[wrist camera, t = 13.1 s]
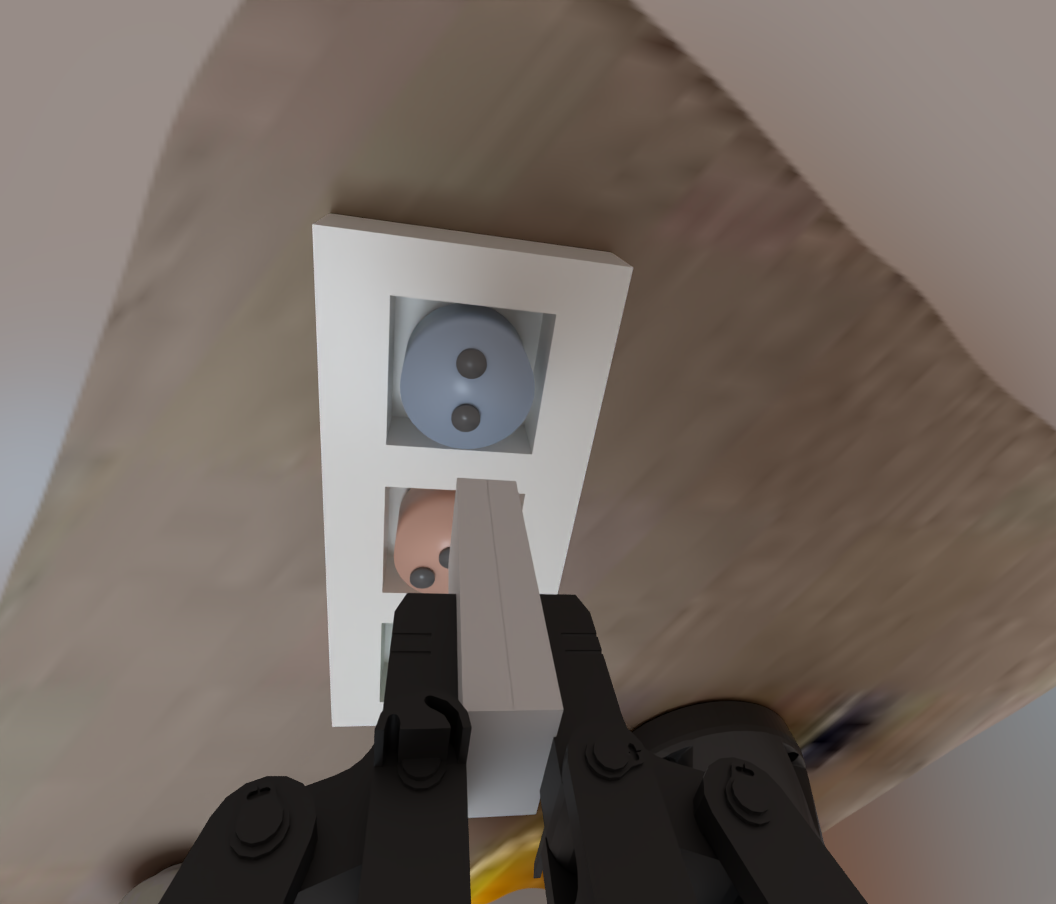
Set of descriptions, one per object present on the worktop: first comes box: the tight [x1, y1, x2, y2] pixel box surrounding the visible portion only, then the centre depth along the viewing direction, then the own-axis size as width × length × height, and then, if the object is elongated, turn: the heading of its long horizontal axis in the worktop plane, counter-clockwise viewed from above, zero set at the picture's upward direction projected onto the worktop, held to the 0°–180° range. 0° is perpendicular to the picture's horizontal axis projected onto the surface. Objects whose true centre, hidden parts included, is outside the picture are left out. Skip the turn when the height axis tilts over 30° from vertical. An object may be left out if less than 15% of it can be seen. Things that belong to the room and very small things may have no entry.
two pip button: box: [400, 303, 535, 449], centre depth 22 cm, size 5×5×3 cm
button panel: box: [312, 213, 633, 727], centre depth 26 cm, size 11×26×3 cm, turn 171°
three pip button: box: [394, 488, 456, 594], centre depth 25 cm, size 5×5×3 cm
